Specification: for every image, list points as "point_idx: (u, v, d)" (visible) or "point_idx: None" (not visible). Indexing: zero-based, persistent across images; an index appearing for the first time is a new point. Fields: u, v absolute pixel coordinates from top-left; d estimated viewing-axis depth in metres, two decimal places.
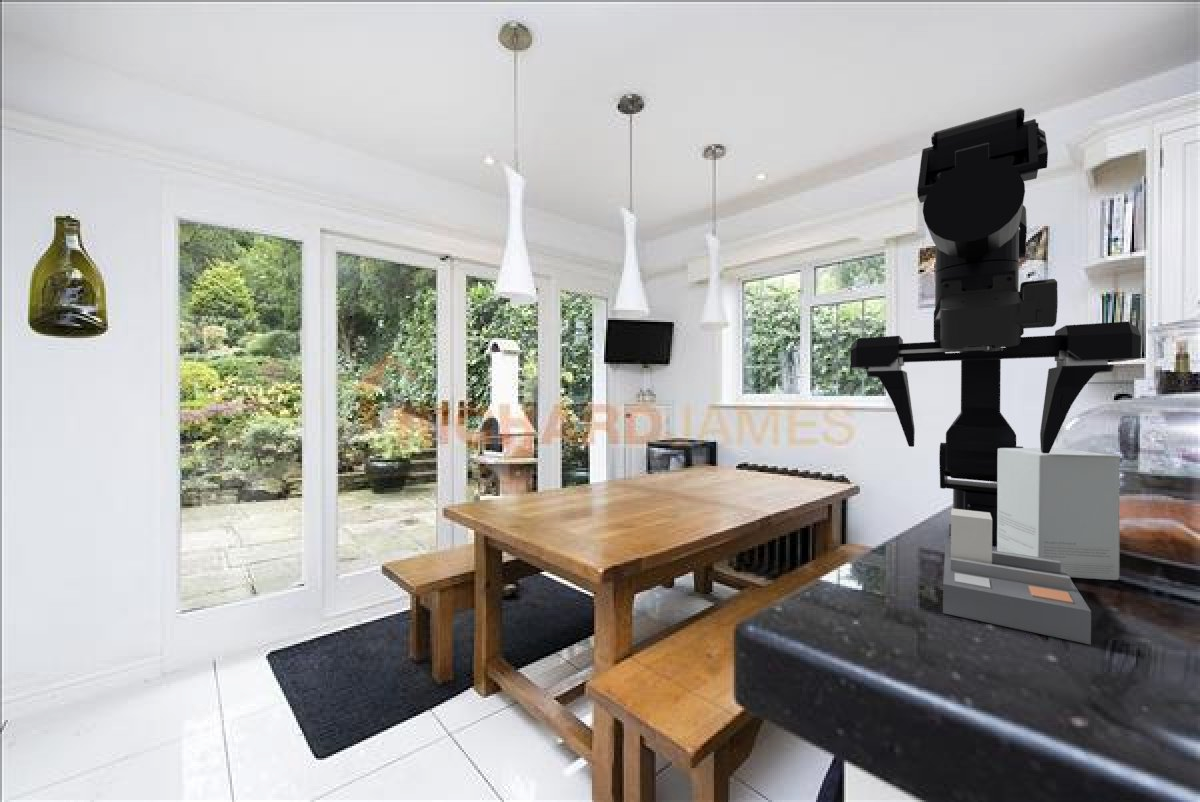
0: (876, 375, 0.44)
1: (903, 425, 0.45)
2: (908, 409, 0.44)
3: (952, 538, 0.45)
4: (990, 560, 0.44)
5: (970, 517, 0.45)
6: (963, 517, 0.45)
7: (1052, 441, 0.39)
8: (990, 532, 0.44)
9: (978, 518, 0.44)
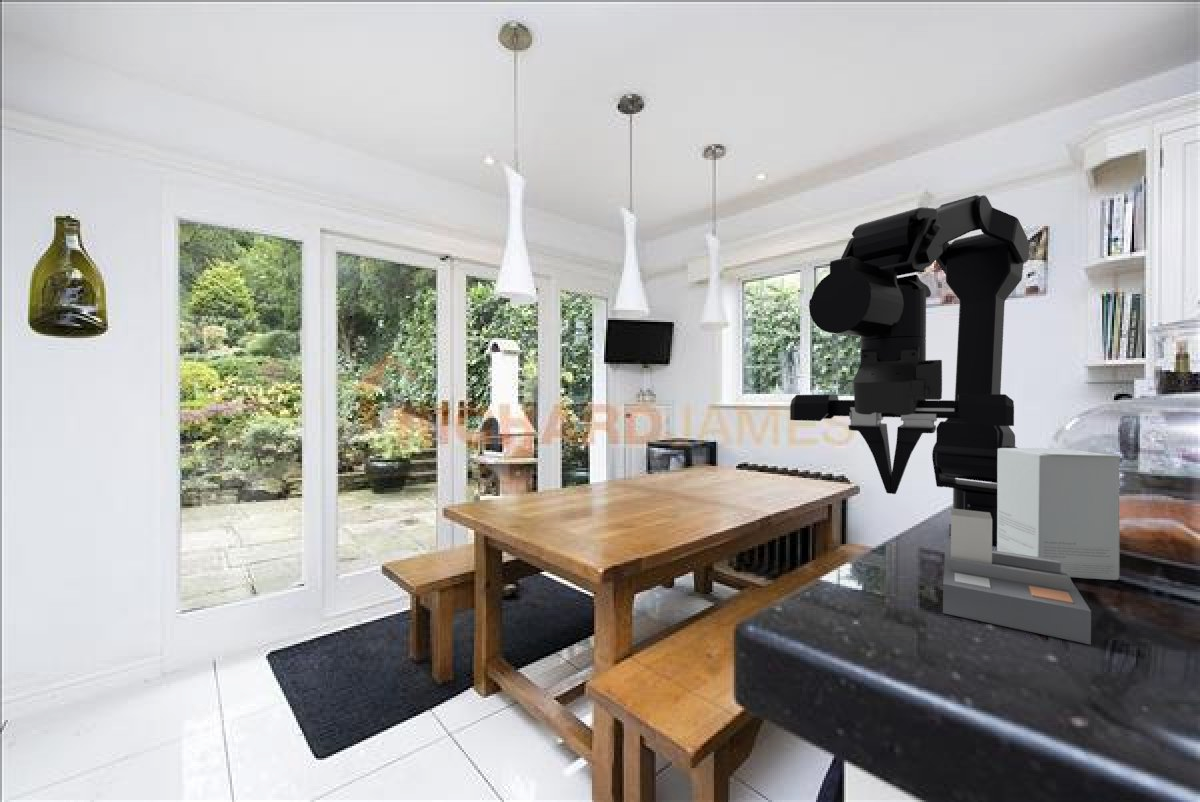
0: (857, 429, 0.49)
1: (881, 474, 0.50)
2: (886, 460, 0.49)
3: (952, 538, 0.45)
4: (990, 560, 0.44)
5: (970, 517, 0.45)
6: (963, 517, 0.45)
7: (897, 484, 0.49)
8: (990, 532, 0.44)
9: (978, 518, 0.44)
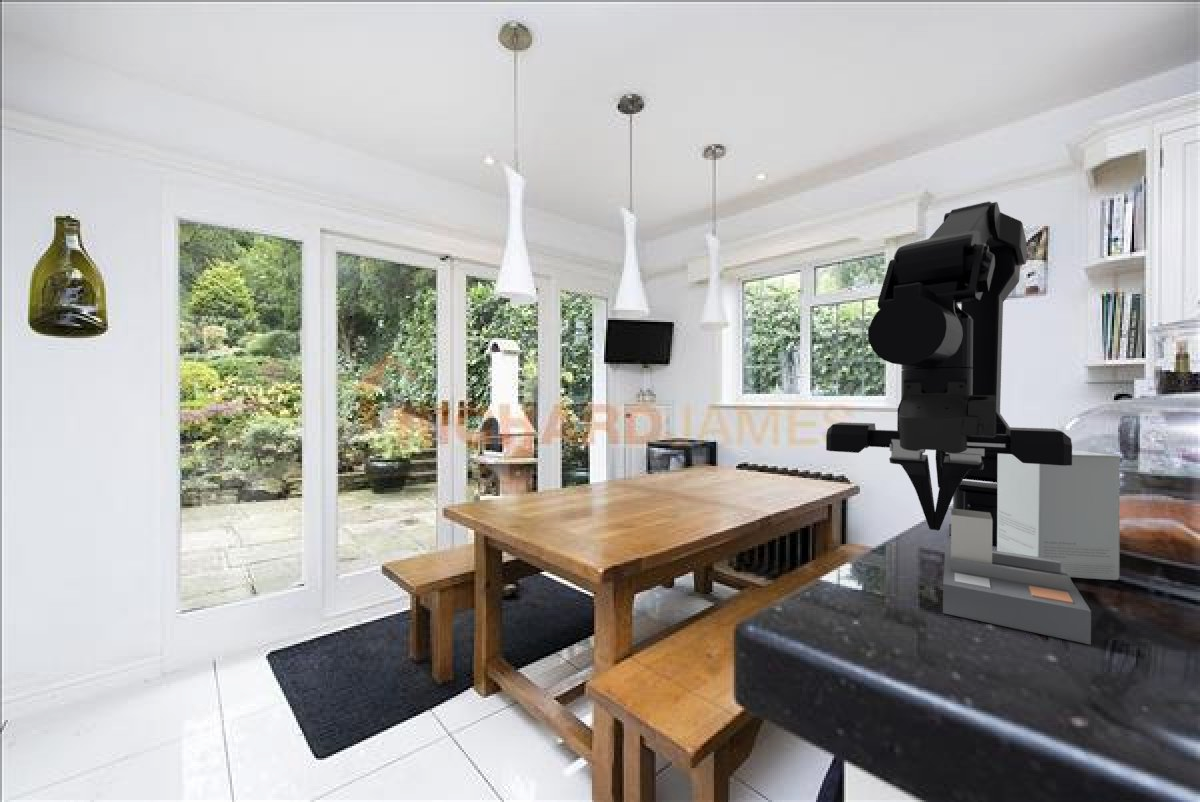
0: (899, 463, 0.47)
1: (924, 509, 0.47)
2: (929, 495, 0.47)
3: (952, 538, 0.45)
4: (990, 560, 0.44)
5: (970, 517, 0.45)
6: (963, 517, 0.45)
7: (941, 521, 0.47)
8: (990, 532, 0.44)
9: (978, 518, 0.44)
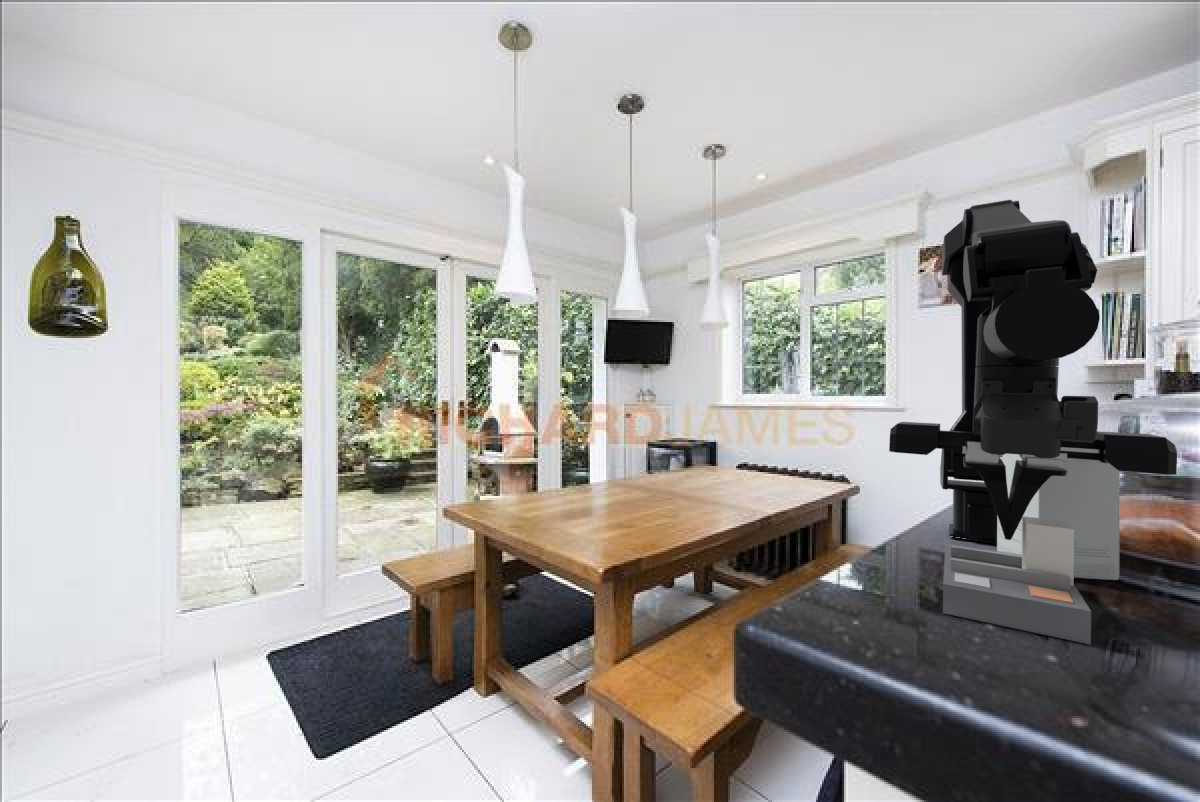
0: (975, 467, 0.44)
1: (1000, 518, 0.44)
2: (1007, 503, 0.43)
3: (1028, 549, 0.42)
4: (1071, 573, 0.41)
5: (1048, 526, 0.42)
6: (1040, 526, 0.42)
7: (1013, 530, 0.44)
8: (1071, 542, 0.41)
9: (1057, 527, 0.41)
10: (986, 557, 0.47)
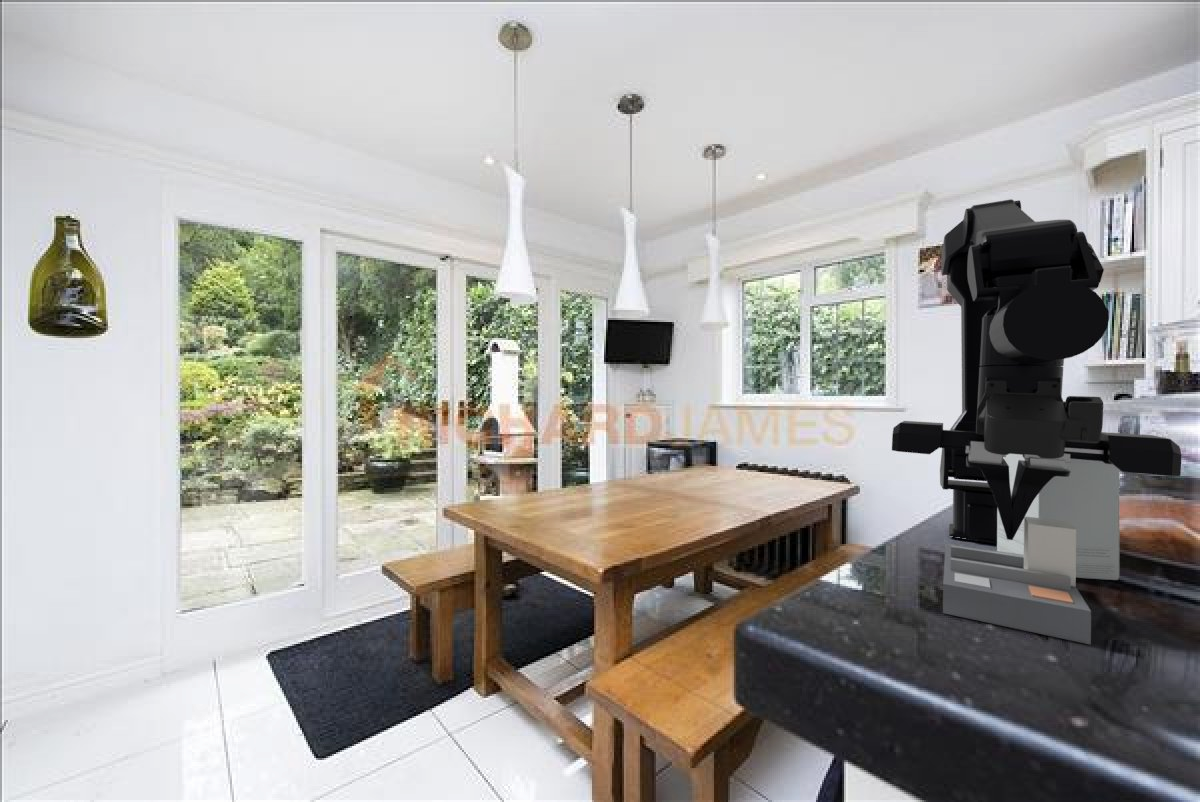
0: (978, 467, 0.43)
1: (1003, 518, 0.44)
2: (1010, 503, 0.43)
3: (1030, 549, 0.42)
4: (1074, 573, 0.41)
5: (1050, 526, 0.42)
6: (1042, 526, 0.42)
7: (1015, 530, 0.44)
8: (1074, 543, 0.41)
9: (1060, 528, 0.41)
10: (986, 557, 0.47)
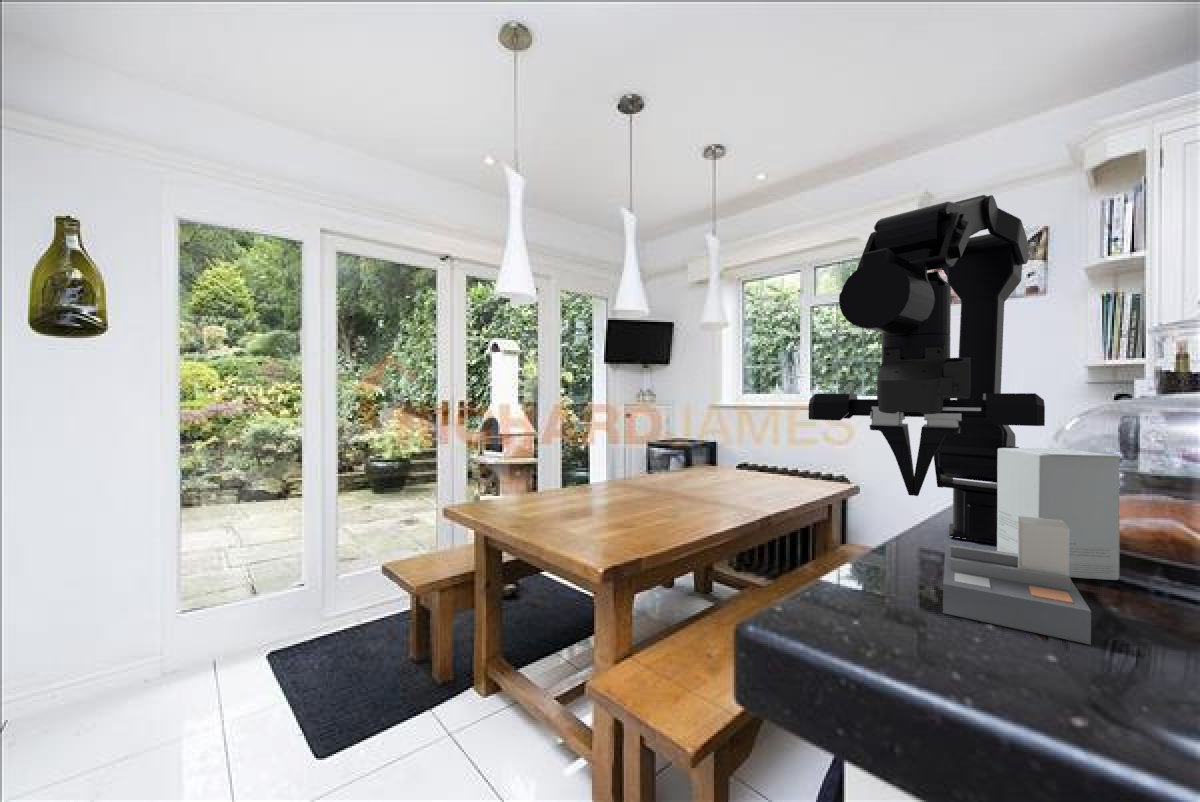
0: (878, 429, 0.48)
1: (903, 475, 0.48)
2: (908, 461, 0.48)
3: (1023, 548, 0.42)
4: (1067, 572, 0.41)
5: (1044, 526, 0.42)
6: (1036, 526, 0.42)
7: (920, 486, 0.48)
8: (1067, 542, 0.41)
9: (1053, 527, 0.41)
10: (986, 557, 0.47)
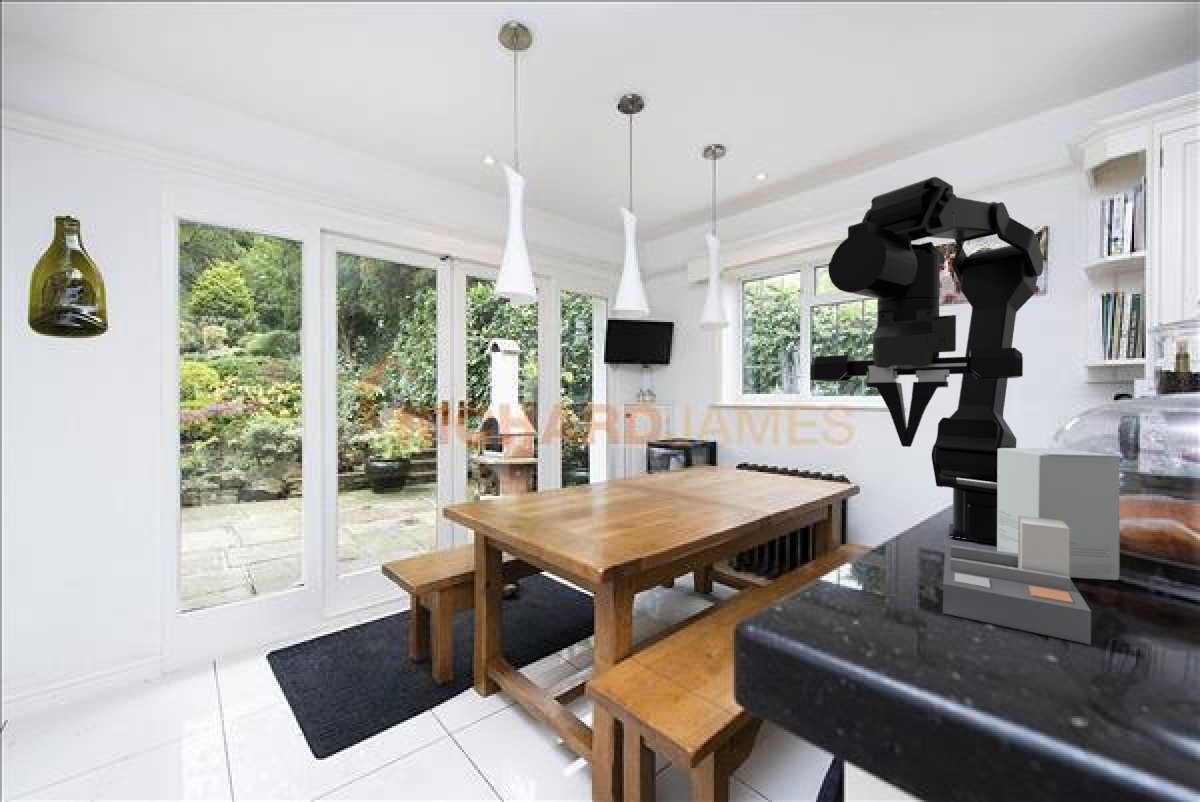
0: (874, 386, 0.52)
1: (897, 428, 0.53)
2: (901, 415, 0.52)
3: (1023, 548, 0.42)
4: (1067, 572, 0.41)
5: (1044, 526, 0.42)
6: (1036, 526, 0.42)
7: (912, 437, 0.52)
8: (1067, 542, 0.41)
9: (1053, 527, 0.41)
10: (986, 557, 0.47)
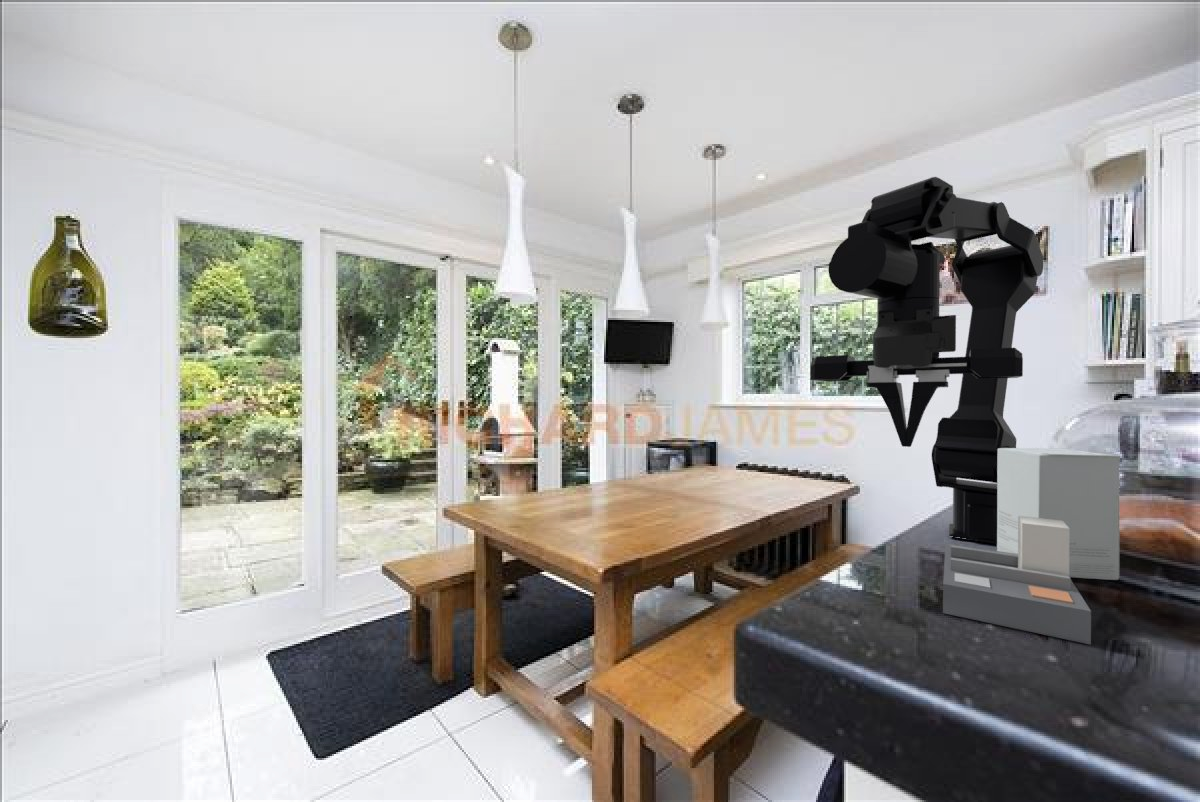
0: (874, 386, 0.52)
1: (897, 428, 0.53)
2: (901, 415, 0.52)
3: (1023, 548, 0.42)
4: (1067, 572, 0.41)
5: (1044, 526, 0.42)
6: (1036, 526, 0.42)
7: (912, 437, 0.52)
8: (1067, 542, 0.41)
9: (1053, 527, 0.41)
10: (986, 557, 0.47)
